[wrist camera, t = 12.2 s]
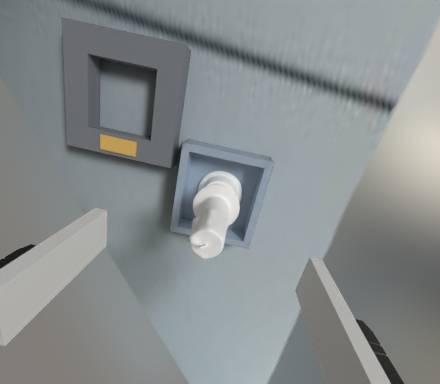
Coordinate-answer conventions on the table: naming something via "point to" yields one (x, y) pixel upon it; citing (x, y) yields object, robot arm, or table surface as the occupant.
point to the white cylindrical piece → (214, 212)
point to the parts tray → (230, 162)
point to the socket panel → (90, 90)
